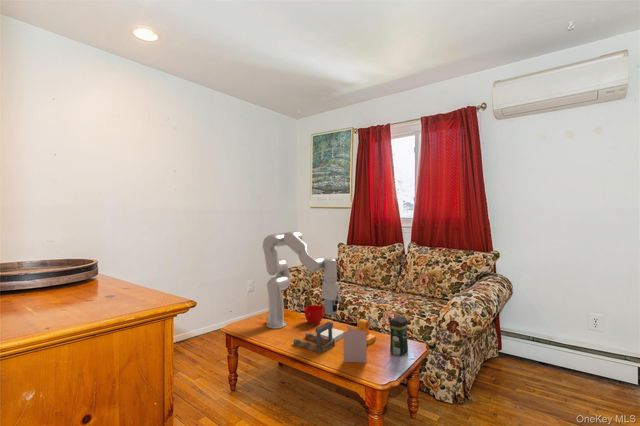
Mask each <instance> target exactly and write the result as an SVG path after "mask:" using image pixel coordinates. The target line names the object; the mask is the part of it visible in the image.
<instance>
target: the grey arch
mask: <svg viewBox="0 0 640 426" xmlns="http://www.w3.org/2000/svg"><path fill="white" fill-rule="evenodd" d="M333 327H334V323H333V322H332V321H331V322H330V321H327V322H325V323H324V324H321V325H319V326H317V327H315V333H316V335H317V341H316V345H317V346H322V345H321V344H322V343H321V333H322V332H323V331H325V330H327V329H328V339H329V340H331V339H332V328H333Z"/></svg>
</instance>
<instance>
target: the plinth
mask: <svg viewBox="0 0 640 426" xmlns="http://www.w3.org/2000/svg"><path fill="white" fill-rule="evenodd" d="M343 332H346V331H344V330H341V329H336V328H333V327H332V340H335V342H337V341H339V340H340V339H343ZM321 336H322V337H325V338H328V329H327V330H325V331H323V332H322V333H321Z"/></svg>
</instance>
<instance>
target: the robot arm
mask: <svg viewBox="0 0 640 426" xmlns="http://www.w3.org/2000/svg"><path fill="white" fill-rule="evenodd" d="M305 242H306V241H305ZM305 242H304V241H303V235H302V233H301V232H300V231H297V230H294V231H287V232H279V233H272V234H269V235H267V236H266V237H265V238H264V239H263V241H262V249H263V250H262V251H263V252H264V253H263V254H264V261H265V265H266V272H267V274H268V275H269V276H274V277H271V278H270V279H269V280H268V281H267V283H266V289H267V294H268V315H267V316H266V318H265V320H266V321H267V322H266V327H267V328H269V329H273V330H274V329H276V330H277V329H281V328H284V327H285V326H287V321H285V320H284V319H285V317H284V313H285V311H284V295H283V293H282V291H283V290H285V289H288V287H290V285H291V276H290V270H289V265H288V263H287V261H286V260H285V259H282V258H279V254H278V251H277V249H276V248H277V247H283V246H288V247H289V249H291V250H292V251H293V252H294V253H295V254H296V255H297V256H298V260H299V261H300V262H299V263H301V264H302V266H303V267H305V268H306V269H307V270H308V271H310V272H312V273H316V272H317V273H318V272H320V271H323V277H322V280H323V282H322V285H321V294H320V299H322V301H323V303H324V304H325V299H328V300H333V304H334V305H333V312H335V311H337V312H338V304H339V303H340V302H341V301H342V298H341V296H340V289H339V283H338V275H337V260H336V259H335V258H326V257H317V258H313V257H312V256H311V255H310V254H309V253H308V252H307V250H308V244H307V243H305ZM276 275H277V276H276Z"/></svg>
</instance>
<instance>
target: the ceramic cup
mask: <svg viewBox="0 0 640 426" xmlns="http://www.w3.org/2000/svg"><path fill="white" fill-rule="evenodd" d="M303 310H304V317H305V320H306V321H307V323H309V324H310V325H312V326H313V325H315V326H316V325H319V324H320V322H321V321H322V320H323V317H324V314H325V307H324V306H322V305H319V304H316V305H314V304H313V305H307V306H305V307H304V309H303Z"/></svg>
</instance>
